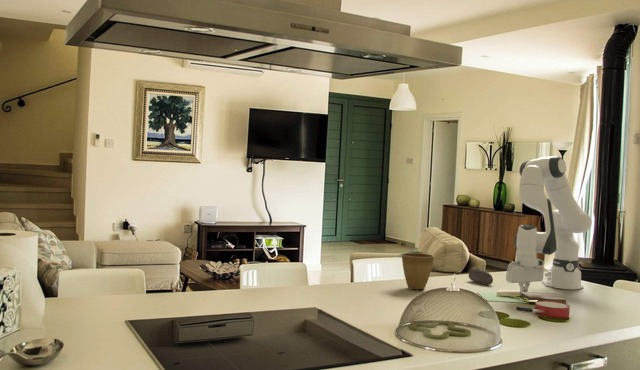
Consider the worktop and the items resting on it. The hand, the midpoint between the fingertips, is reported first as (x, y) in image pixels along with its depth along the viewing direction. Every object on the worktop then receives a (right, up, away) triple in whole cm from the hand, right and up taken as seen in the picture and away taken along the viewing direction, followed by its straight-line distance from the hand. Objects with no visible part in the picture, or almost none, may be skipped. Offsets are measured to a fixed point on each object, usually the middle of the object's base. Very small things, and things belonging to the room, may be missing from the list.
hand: (523, 291), depth 278 cm
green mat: (-9, -3, 0) cm, 10 cm away
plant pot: (-46, -1, +12) cm, 48 cm away
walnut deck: (+8, -4, 0) cm, 9 cm away
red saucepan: (-5, -4, -36) cm, 36 cm away
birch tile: (-6, -2, +4) cm, 7 cm away
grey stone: (-10, -2, +35) cm, 37 cm away
